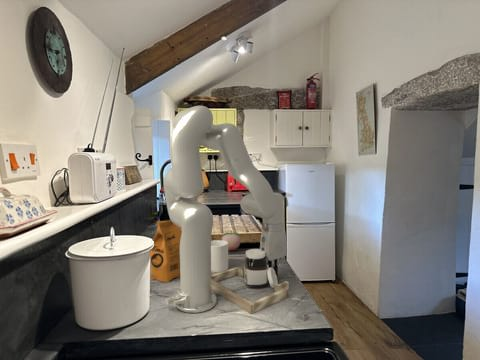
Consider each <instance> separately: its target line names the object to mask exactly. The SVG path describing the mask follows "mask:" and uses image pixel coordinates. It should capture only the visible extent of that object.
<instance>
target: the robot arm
mask: <svg viewBox="0 0 480 360" xmlns="http://www.w3.org/2000/svg"><path fill="white" fill-rule="evenodd" d="M172 121H173V122H172V126H173V131H172V132H171V136H170V140H169V157H170V164H171V168H169V170H167V172H166V173H165V174H164V177H163V192H164V196H165V202H166V208H167V213H168V216H169V220H171V221H172V222H173V224H175V225H176V226H178V227H179V228H181V230H182V233H181V239H180V276H179V277H180V278H179V280H180V284H179V285H180V289H177V293H175V294H174V295H173V296H169V297H166V298H165V299H164V301H165V304H166V305H167V306H169V305H172V304H173V306H174V307H176V308H177V309H179V311H182V312H185V313H187V314H188V313H189V314H196V313H198V314H199V313H202V312H206V311H209V310H210V309H213V307H215V305H217V302H218V301H217V299H218V298H217V295H216V294H215V293H214V292H212V291H213V290H212V286H211V275H212V272H211V241H212V231H213V226H214V216H213V213H212V210H211V209H210V208H209V207H208V206H207V205H206V204H204V203H202V202H199V201H196V200H195V198H196V199H197V197H199V196H200V195H201V194H203V191H204V189H205V183H204V175H203V168H202V163H201V156H200V146H202V147H204V148H206V149H209V150H213V151H219V155H220V156H221V158H222V160H223V163H224V165H225V168H226V170H227V172H228V174H229V176H230V177H231V178H233V179H234V180H236V182H238V183H239V184H241V185H242V186H244V187H245V188H246V190H248V191H249V192H250V193H248V194H245V195H244V196H243V197H242V198H241V199H240V202H239V203H240V204H239V205H240V208H241V210H242V212H244V213H245V214H247V215H250V216H254V217H257V218H261V219H262V226H261V230H262V231H261V233H260V234H261V235H260V242H259V243H260V244H259V245H260V246H259V249H260V250H261V251H262V250H263V251H264V252H265V258H266V262H267V266H268V268H270V267H273V269H274V270H275V273H276V276H277V277H278V275H279V271H278V270H279V268H278V267H279V265H280V261H281V259H283V258H284V257H285V256H286V255H287V254H288V244H287V240H288V239H287V234H286V230H285V229H284V195H283V194H282V193H280V192H274V190H273V188H272V186H271V184H270V183H269V181H268V180H267V178H265V176H264V175H263V174H262V173H261V172H260V170H259V169H258V168H257V167H256V166H255V165H254V163H253V161H252V159H251V157H250V154H249V152H248V149H247V146H246V145H245V142H244V139H243V136H242V134H241V132H240V129H239V128H238V127H237V125H235V124H233V123H227V122H226V123H225V122H224V123H219V124H214V123H213V122H214V115H213V113H212V111H211V110H210V109H209V108H208V107H207V106H204V105H196V106H191V107H189V108H186V109H184V110H181V111H179V112H178V113H177V114H175V116H174V118H173V120H172Z"/></svg>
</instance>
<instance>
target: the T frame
mask: <svg viewBox="0 0 480 360" xmlns="http://www.w3.org/2000/svg"><path fill="white" fill-rule="evenodd" d="M235 276H239V277H241V278H243V279H245V278H244V269H243V268H241V267H239V266H237V267H236V266H235V267H233V268H228V269H227V270H226V271H223V272H220V273H213V274H211V286H212V291H214V292H215V293H217V294H219V295H220V296H221V297H223V298H224V299H227V300H228V301H230V302H231V303H232V304H234V305H236V306H237V307H238V308H241V309H242V310H243V311H246V312H247V313H249V314H250V315H252V314H254V313H256V312H258V311H260V310H262V309H265V308H266V307H269V306H271V305H274V304H276V303H279V302H280V301H283V300H285V299H287V298H288V290H289V289H290V282H289V281H287V280H285V281H283V282H280V283H278V285H275V286H274V288H273V293H271V294H268V295H267V296H264V297H262V298H259V299H257V300H255V301H252V302H251V301H249V300H247V298H246V299H245V298H244V297H243V296H241V295H239V294H237V293H235V292H234V291H232V290H231V289H229V288H226V287H225V286H223V285H222V284H220V283H218V282H220V281H223V280H226V279H229V278H232V277H235Z"/></svg>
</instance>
